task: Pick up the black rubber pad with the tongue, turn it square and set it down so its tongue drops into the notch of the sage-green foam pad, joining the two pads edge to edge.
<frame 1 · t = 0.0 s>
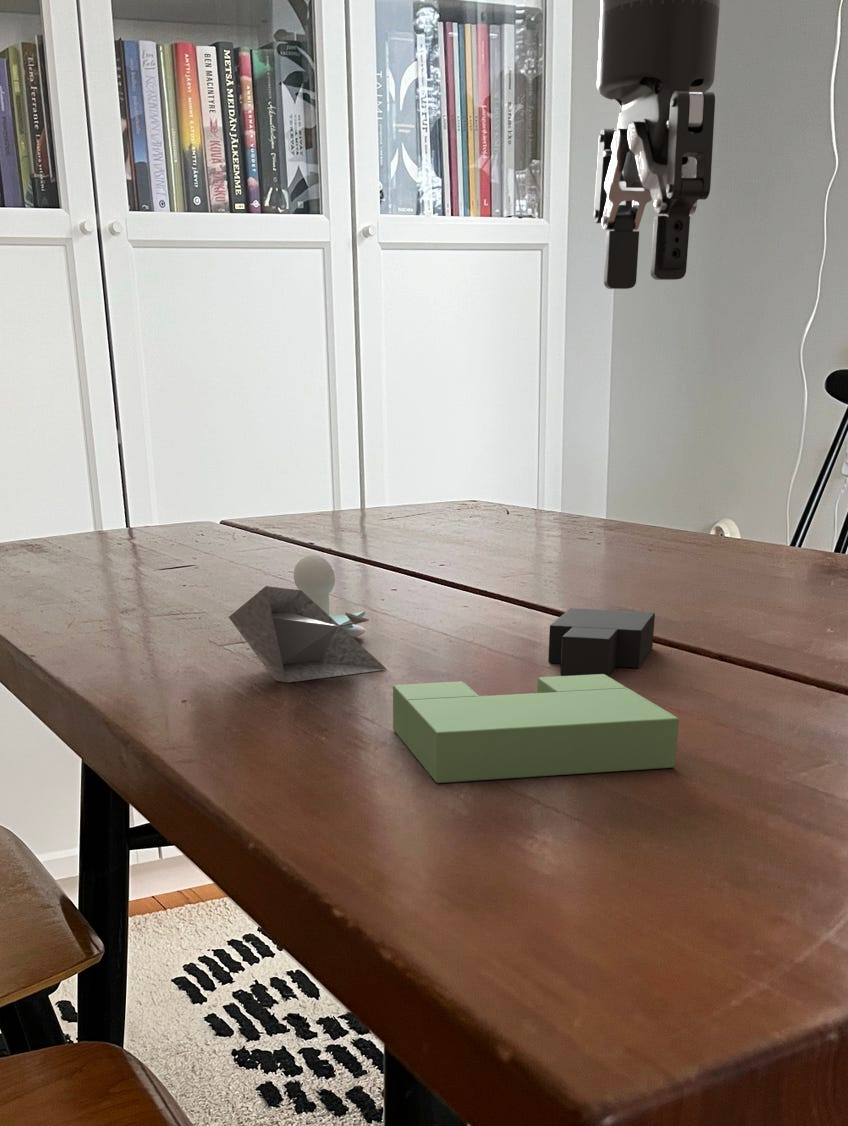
hand: (642, 284, 87), 24 cm above the table, tool pointing down, fingers open, 8 cm apart
black pad: (601, 655, 86), on the table
paper boat: (304, 683, 80), on the table
pacifier: (320, 641, 93), on the table
green pad: (526, 747, 65), on the table
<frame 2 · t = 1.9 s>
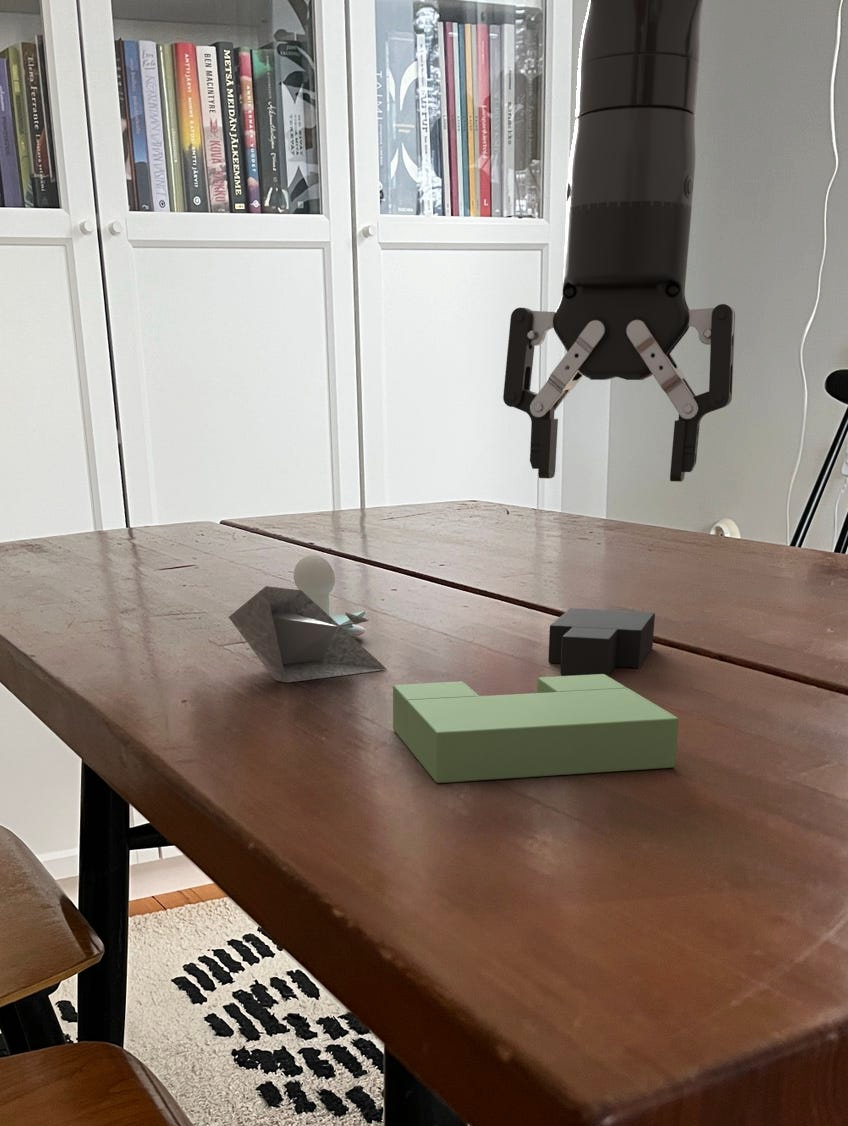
hand: (610, 479, 83), 12 cm above the table, tool pointing down, fingers open, 8 cm apart
nothing on the table moved.
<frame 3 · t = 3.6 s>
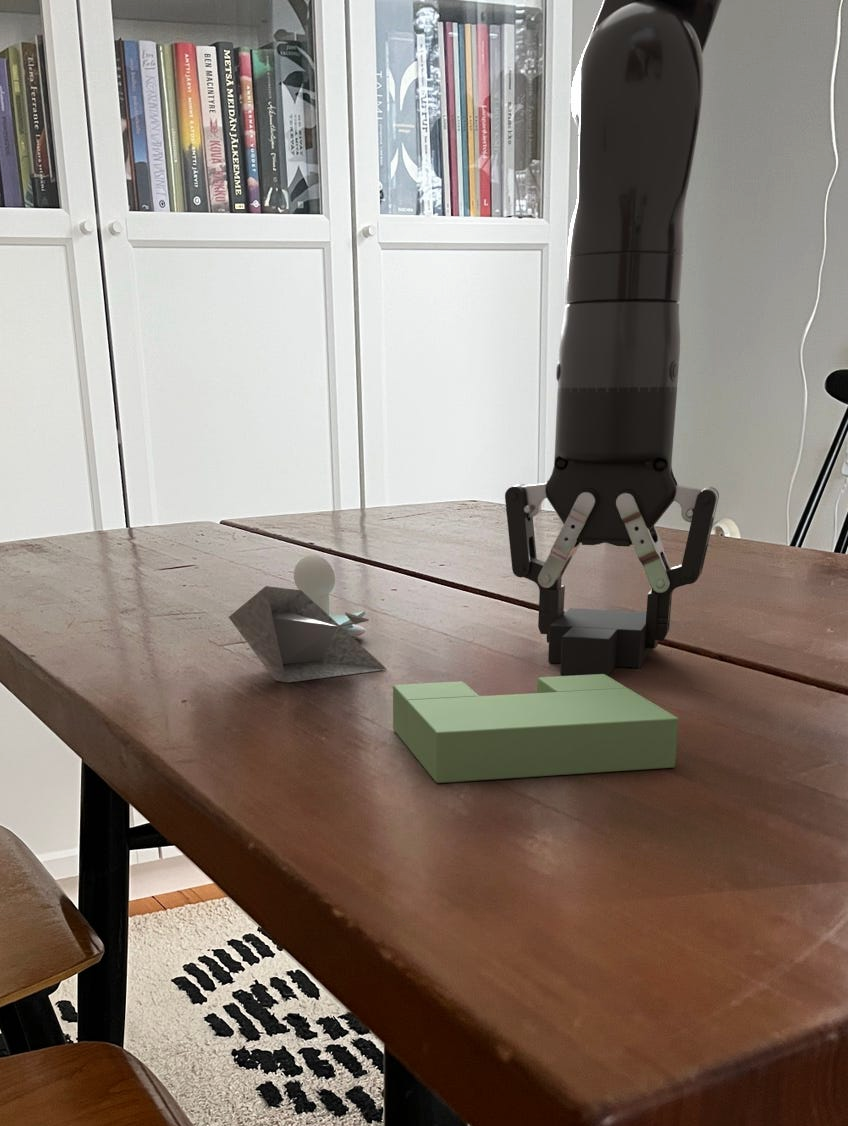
hand: (601, 643, 86), 1 cm above the table, tool pointing down, fingers closed on black pad, 6 cm apart
black pad: (601, 655, 86), on the table, touching gripper
everything else where it was.
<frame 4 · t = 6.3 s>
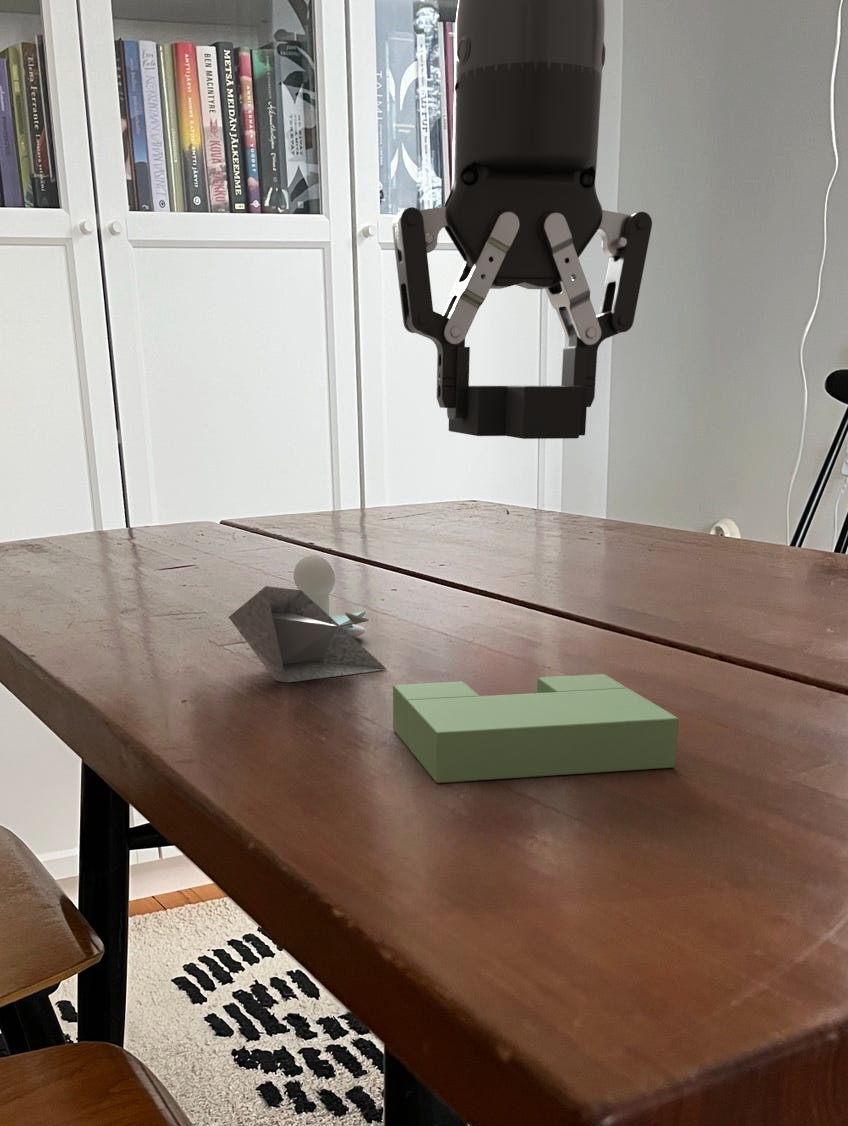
hand: (514, 417, 70), 16 cm above the table, tool pointing down, fingers closed on black pad, 6 cm apart
black pad: (514, 433, 71), point 15 cm above the table, touching gripper
everything else where it was.
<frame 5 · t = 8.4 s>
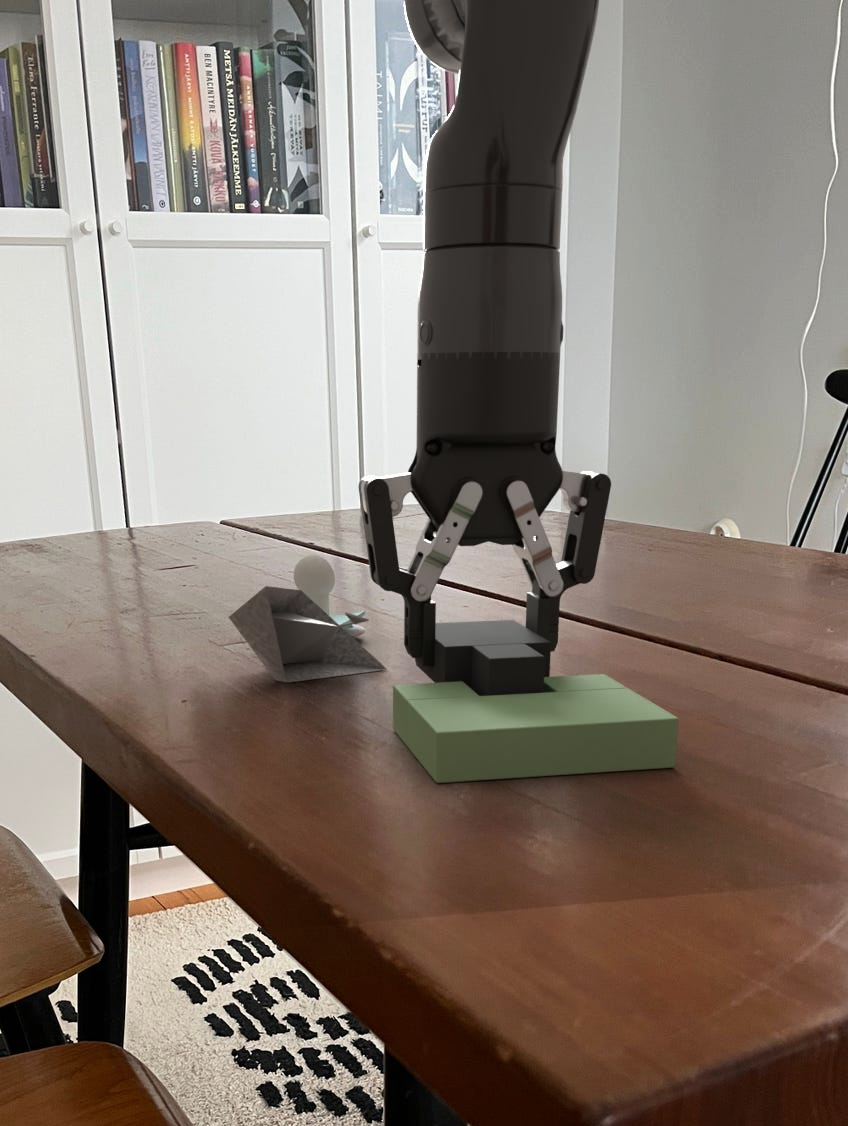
hand: (480, 661, 72), 3 cm above the table, tool pointing down, fingers closed on black pad, 6 cm apart
black pad: (480, 675, 73), point 2 cm above the table, touching gripper
everything else where it was.
when the fingers open (1 cm above the table, at t = 9.5 s): black pad stays where it is, on the table.
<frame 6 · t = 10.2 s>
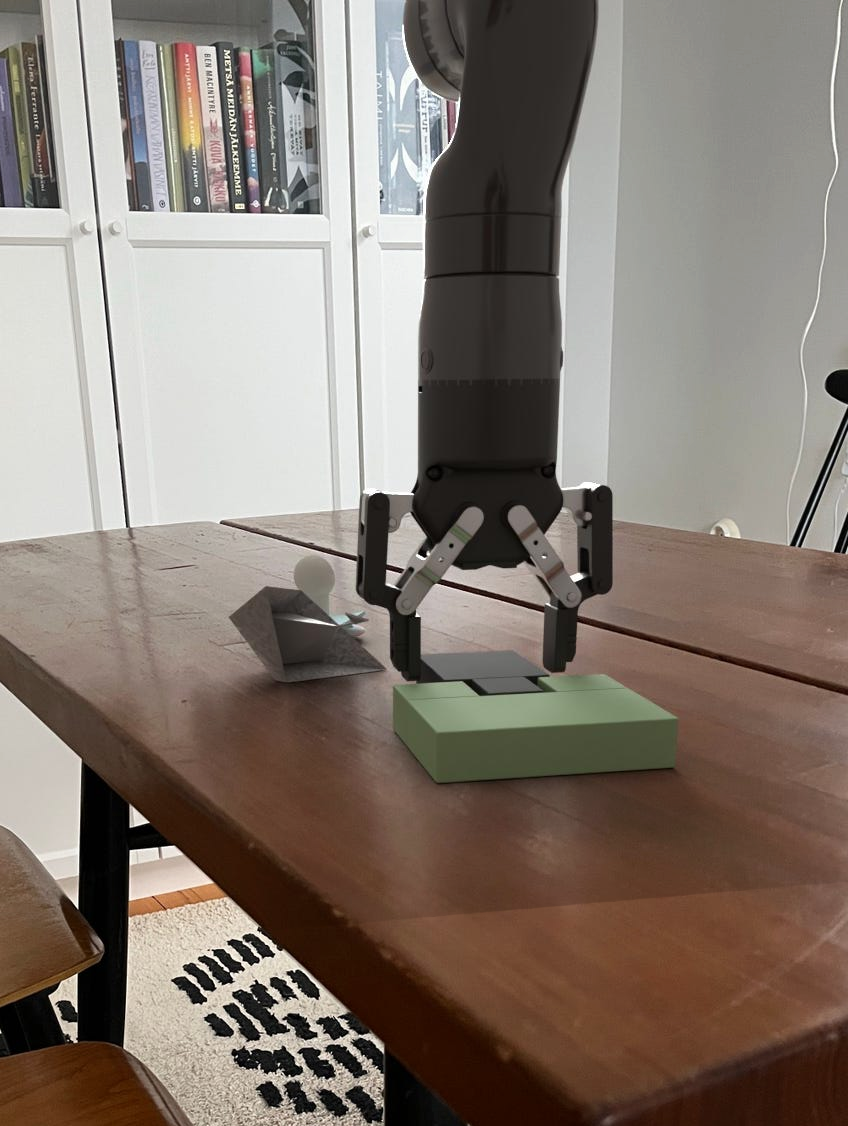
hand: (482, 674, 72), 2 cm above the table, tool pointing down, fingers open, 8 cm apart
black pad: (479, 706, 73), on the table
everything else where it was.
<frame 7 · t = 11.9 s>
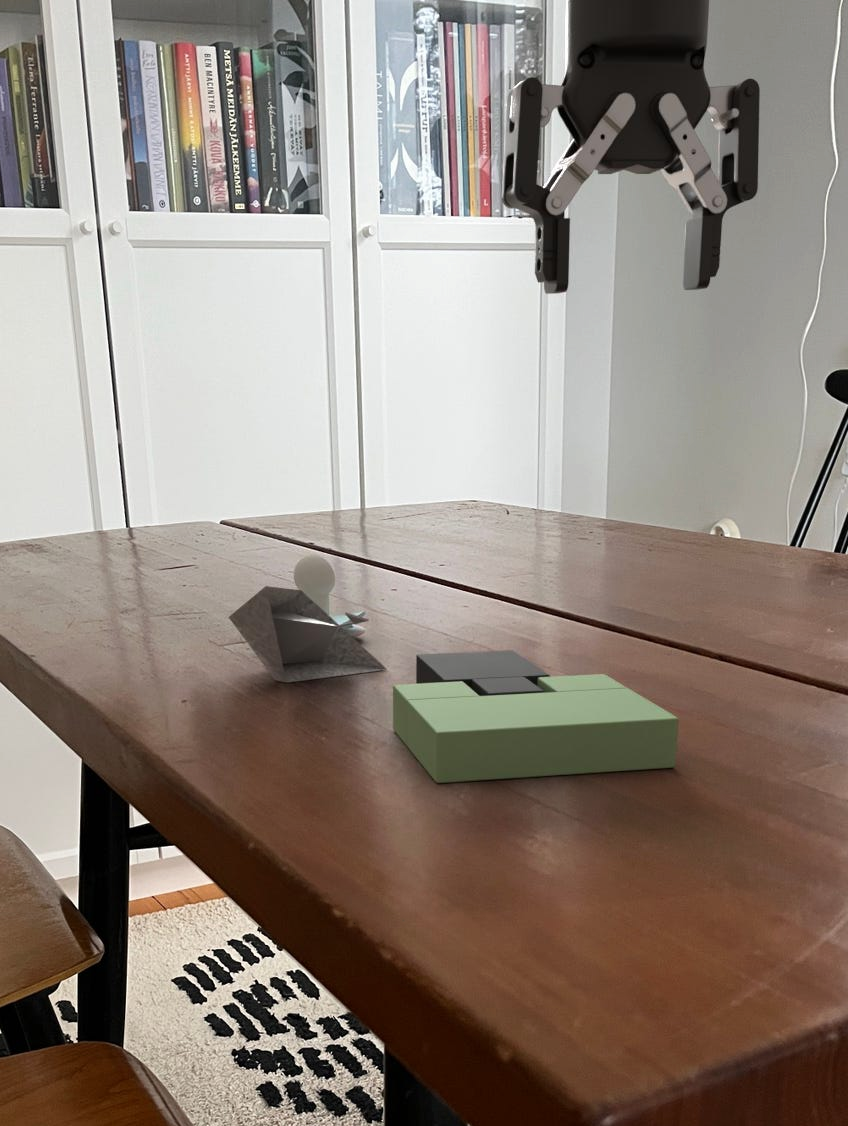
hand: (626, 291, 72), 22 cm above the table, tool pointing down, fingers open, 8 cm apart
nothing on the table moved.
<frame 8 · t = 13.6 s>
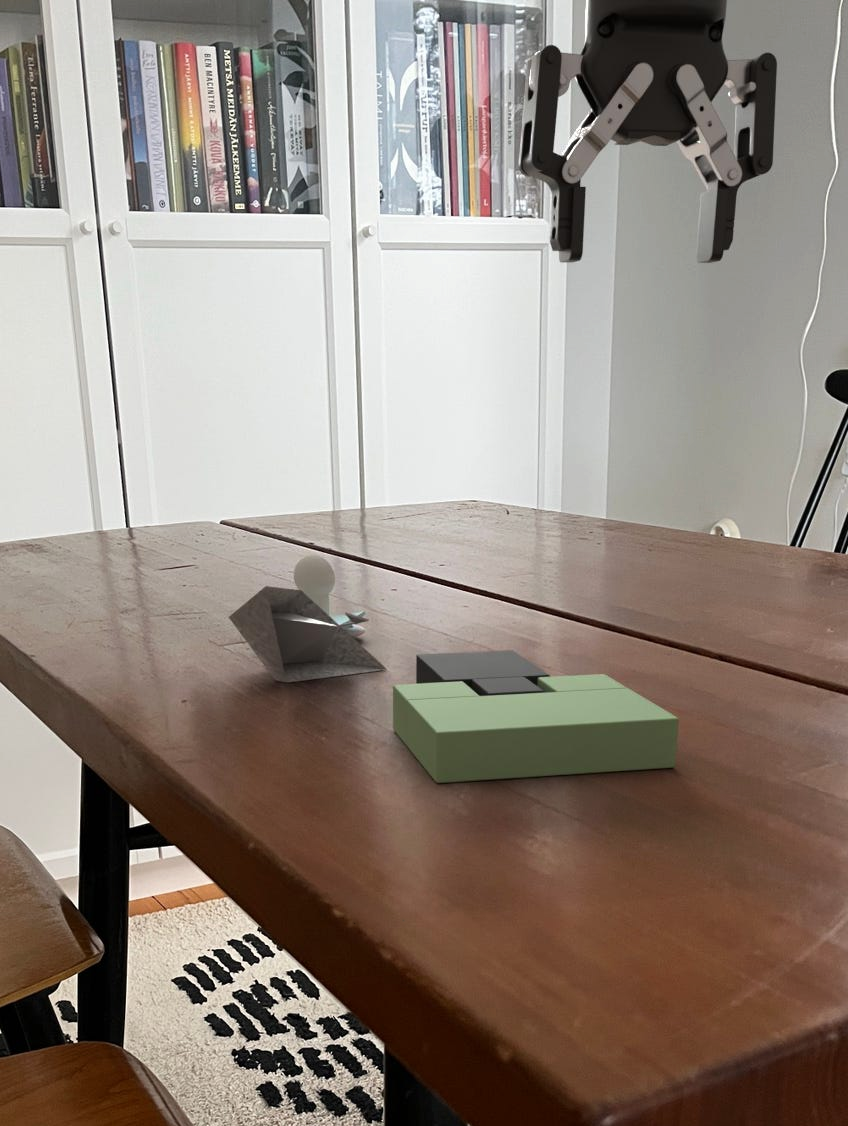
hand: (639, 261, 73), 24 cm above the table, tool pointing down, fingers open, 8 cm apart
nothing on the table moved.
at the end: black pad 0.1 cm from the target spot on the table beside the green pad, on the table; black pad tilted 0°; the gripper is holding nothing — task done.
